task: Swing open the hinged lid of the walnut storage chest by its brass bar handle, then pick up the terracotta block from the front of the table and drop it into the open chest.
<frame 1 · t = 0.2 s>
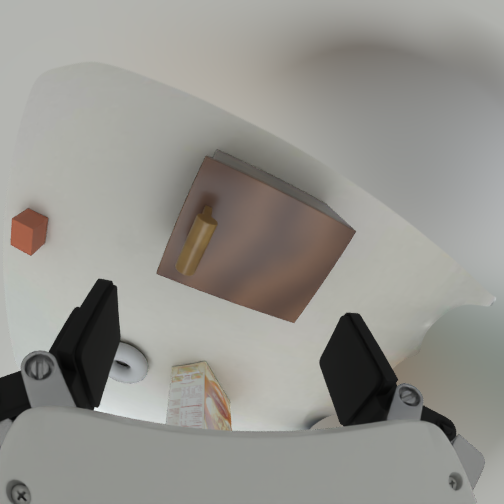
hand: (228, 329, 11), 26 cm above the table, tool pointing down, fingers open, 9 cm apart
chest: (251, 220, 37), on the table
donut: (124, 356, 46), on the table
block: (36, 225, 33), on the table
lid: (259, 261, 26), point 12 cm above the table, hinge at 0.0°
coffeecake box: (203, 385, 51), on the table
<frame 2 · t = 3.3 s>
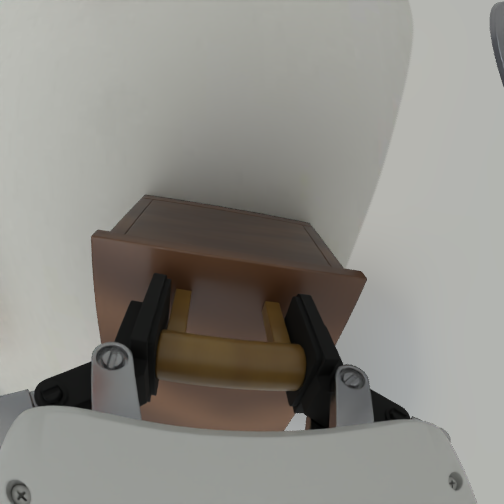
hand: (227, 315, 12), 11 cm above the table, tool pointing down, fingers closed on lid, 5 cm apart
chest: (212, 295, 24), on the table
lid: (210, 409, 13), point 12 cm above the table, hinge at 0.0°, touching gripper
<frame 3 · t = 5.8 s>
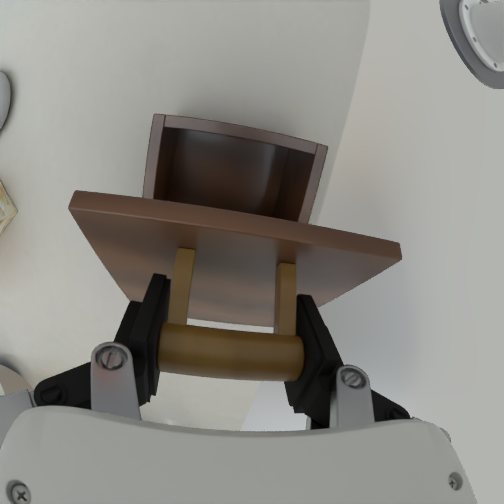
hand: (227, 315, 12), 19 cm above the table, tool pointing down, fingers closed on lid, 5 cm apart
chest: (222, 199, 29), on the table
lid: (216, 329, 16), point 17 cm above the table, hinge at 40.7°, touching gripper
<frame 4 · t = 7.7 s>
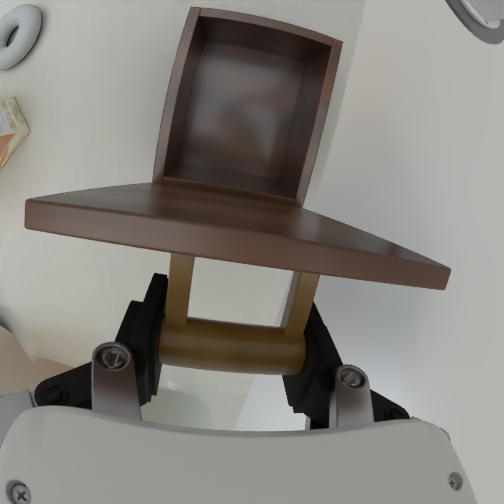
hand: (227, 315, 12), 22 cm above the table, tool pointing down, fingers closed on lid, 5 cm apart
chest: (241, 109, 28), on the table
donut: (19, 38, 18), on the table
lid: (228, 253, 15), point 18 cm above the table, hinge at 78.9°, touching gripper
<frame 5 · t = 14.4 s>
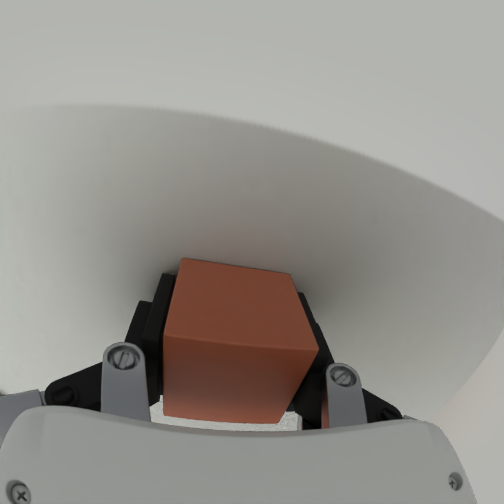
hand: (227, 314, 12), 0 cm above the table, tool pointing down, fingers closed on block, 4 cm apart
block: (227, 309, 12), on the table, touching gripper
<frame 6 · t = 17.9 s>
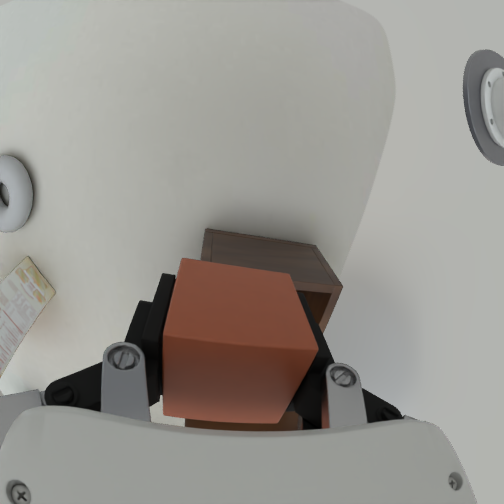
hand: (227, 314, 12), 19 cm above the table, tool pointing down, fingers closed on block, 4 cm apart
chest: (249, 295, 35), on the table
donut: (12, 190, 25), on the table
block: (227, 309, 12), point 19 cm above the table, touching gripper
lid: (247, 461, 22), point 18 cm above the table, hinge at 79.4°
coffeecake box: (22, 294, 32), on the table
when the fingers open (10 cm above the table, at t = 21.6 s): block drops 9 cm, resting on chest.
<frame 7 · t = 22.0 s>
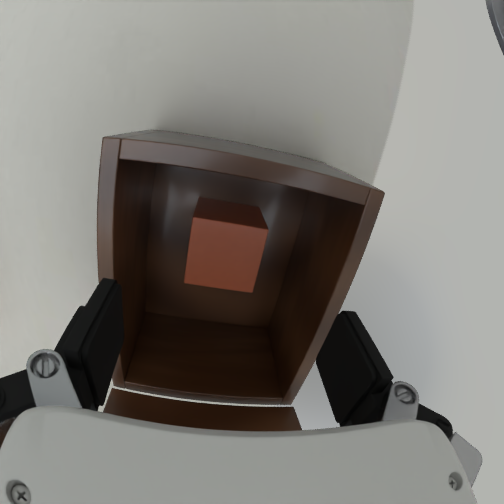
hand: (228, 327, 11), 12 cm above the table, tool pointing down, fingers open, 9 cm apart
chest: (219, 244, 22), on the table
block: (223, 230, 21), point 1 cm above the table, touching chest
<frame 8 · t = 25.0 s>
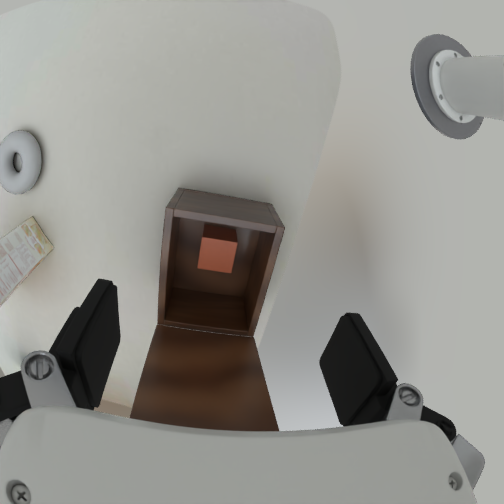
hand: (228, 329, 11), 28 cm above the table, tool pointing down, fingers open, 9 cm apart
chest: (215, 248, 40), on the table
donut: (24, 160, 31), on the table
block: (217, 241, 39), point 1 cm above the table, touching chest
lid: (202, 389, 28), point 18 cm above the table, hinge at 79.4°
coffeecake box: (24, 252, 37), on the table
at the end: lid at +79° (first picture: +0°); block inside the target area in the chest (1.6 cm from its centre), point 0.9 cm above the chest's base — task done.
